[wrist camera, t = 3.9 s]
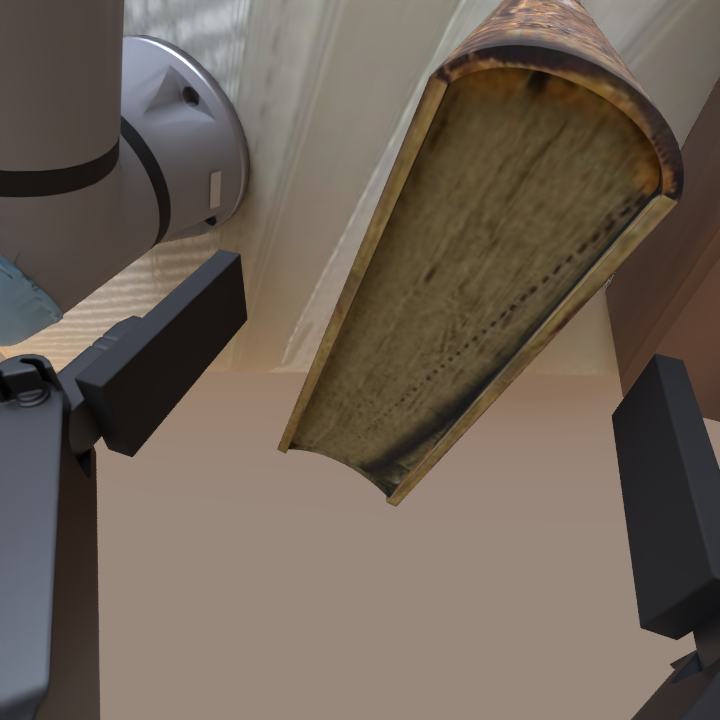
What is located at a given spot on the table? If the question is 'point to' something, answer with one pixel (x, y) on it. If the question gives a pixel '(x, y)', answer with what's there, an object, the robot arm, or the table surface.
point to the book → (485, 238)
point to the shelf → (677, 277)
